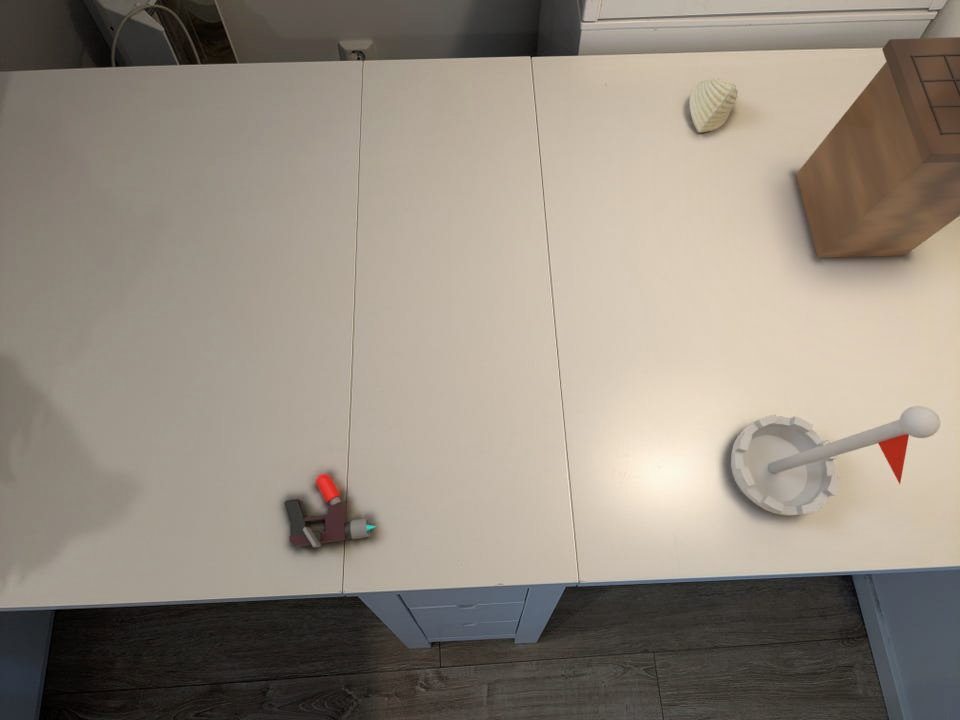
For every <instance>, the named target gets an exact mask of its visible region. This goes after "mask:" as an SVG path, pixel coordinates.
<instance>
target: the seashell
mask: <svg viewBox="0 0 960 720" xmlns="http://www.w3.org/2000/svg"><path fill="white" fill-rule="evenodd" d="M738 94H739V93H738V89H737V86H736V85H735V84H734V83H732V82H729V81H726V80H722V79H719V78H709V79H706V80H703V81H702V80H701V81H700V82H698V83H697V84H695V85H694V86H693V88H692V90H691V92H690V95H689V101H688V102H689V104H688V105H689V113H690V117H691V120H692V123H693V125H694V127H695V130H696V132H697V133H706V132H712V131H716V130H717V129H718V128H721V127H722V125H723V124H725V123H726V121H727V119H728V118H729V115H730V113H731V111H732V109H733V107H734V106H735V105H736V102H737V98H738Z"/></svg>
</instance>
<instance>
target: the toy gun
mask: <svg viewBox="0 0 960 720" xmlns="http://www.w3.org/2000/svg"><path fill="white" fill-rule="evenodd" d="M315 485H316V486H317V489H318V490H319V492H320V493H321V495H322V497H323V499H324V501H325V503H326V504H329V505H328V506H327V514H321V515H316V516H315V515H314V516H309V517H308V514H307V511H306V508H305V504H304V502H303V500H302V499H298V498H294V499H287V500H285V501H284V507H285V510H286V513H287V517H288V520H289V523H290V524H289V525H290V535H289V542H290V543H291V544H292V545H293V546H294V547H306V546H312V548H317V549H318V548H319V547H321V546H322V544H326V543H336V542H343V541H348V540H349V539H352V540H358V539H363V538H369V537H370V536H371V530H372V529H375V528H376V527H377V526H376V525H371V524H370V519H369V518H368V517H364V518H358V519H352V520H351V521H348V519H349V518H348V502H347V501H345V500H341V498H340V497H341V493H340V491H339V489H338V487H337V486H336V484H335V483H334V481H333V479H332V477H331V476H330V474H327V473H321V474H319V476H317V477H316V479H315ZM321 521H324V523H325V530H323V531H317V530H316V531H313V529H312V528H311V523H314V522H321Z"/></svg>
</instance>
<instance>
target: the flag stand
mask: <svg viewBox="0 0 960 720" xmlns="http://www.w3.org/2000/svg"><path fill="white" fill-rule="evenodd" d="M813 427H814V424H813V423H811V422H810V421H807V420H806V419H803V418H800V417H799V416H793V417H785V416H777V414H771V415H767V416H764V417H762V418H759V419H757V420H755V421H753V422H751V423H750V424H748V425H747V426H746V427H744V428H743V429H742V430H741V432H739V434H738V435H737V437H736V439H735V440H734V442H733V446H732V450H731V456H730V467H731V468H730V469H731V474H732V477H733V479H734V481H735V483H736V485H737V487H738V488H739V489H740V491H741V492H742V493H743V495H745V496H746V497H747V498H748V499H749V500H750V501H751V502H752V503H754V504H755V505H757V506H758V507H760V508H761V509H763V510H765V511H768V512H769V513H770V512H771V513H772V514H775V515H781V516H801V515H806V514H811V513H814V512H817V511H819V510H821V509H822V506H823V505H824V504H825V503H826V501H828V499H829V498H830V497H834V496H836V494H837V492H838V489H839V487H840V482H841V477H840V476H836V467H835V461H834V460H836V459H839V456H840V455H844V454H846V453H849V452H853V451H856V450H860V449H864V448H867V447H870V446H874V445H877V444H878V446H879V448H880V450H881V452H882V454H883V455H884V457H885V459H886V461H887V463H888V465H889V467H890V469H891V471H892V473H893V475H894V476H895V479H896V480H897V482H898V484H899V485H901V482H902V476H903V471H904V465H905V460H906V455H907V448H908V442H909V437H913V438H916V439H925V438H926V439H927V438H930V437H932V436H934V435H935V434H937V432H939V430H940V428H941V419H940V417H939V414H937V412H935V411H934V409H932V408H929V407H928V406H923V405H913V406H911V407H908V408H906V409H905V410H903V411H902V413H901V414H900V416H899V419H897V420H894V421H891V422H887V423H884V424H881V425H878V426H876V427H873V428H870V429H867V430H864V431H861V432H858V433H855V434H853V435H850V436H846V437H843V438H840V439H837V440H833V441H831V440H830V439H825V440H824V439H822V437H821V436H820V435H819V434H818V433H817V432H816V431H815V430H813Z"/></svg>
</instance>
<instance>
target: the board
mask: <svg viewBox="0 0 960 720" xmlns="http://www.w3.org/2000/svg"><path fill="white" fill-rule="evenodd" d="M881 50H882V53H883V56H884V59H885V61H886V62H885V63H884V64H883V65H882V66H881V68H880V69H879V70H878V71H877V73H876V74H875V75H874V76H873V78H872V79H871V80H870V82H869V83H868V84H867V85H866V86H865V88H863V90H862V91H861V92H860V94H859V95H858V96H857V98H856V99H855V100H854V102H853V103H852V104H851V105H850V106H849V108H848V109H846V111H845V112H844V114H843V115H842V116H841V118H840V119H839V120H838V121H837V122H836V124H835V125H834V126H833V128H831V130H830V131H829V133H828V134H827V135H826V136H825V137H824V139H823V140H822V141H821V143H820V144H819V145H818V146H817V147H816V149H815V150H814V151H813V153H812V154H811V155H810V156H809V158H808V159H807V160H806V162H805V163H803V165H802V166H801V168H799V170H798V171H797V172H796V174H795V176H796V181H797V184H798V188H799V192H800V195H801V199H802V204H803V207H804V211H805V215H806V219H807V222H808V226H809V230H810V234H811V238H812V242H813V245H814V249H815V253H816V257H817V258H820V259H821V258H846V257H847V258H848V257H849V258H850V257H853V258H854V257H855V258H856V257H882V256H883V257H888V256H906V255H908V254H909V253H911V252H912V251H913V250H915V249H917V247H919V246H920V245H922V244H923V243H924V242H926V241H927V240H929V239H930V238H931V237H932V236H934V235H936V234H937V233H938V232H940V231H941V230H942V229H943V228H945V227H946V226H948V225H949V224H950V223H952V222H953V221H955V220H956V219H958V218H959V217H960V36H955V37H954V36H951V37H949V36H947V37H922V38H921V37H920V38H918V37H917V38H890V39H889V40H888V41H886V43H885V45H884V46H883V47H882V49H881Z"/></svg>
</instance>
